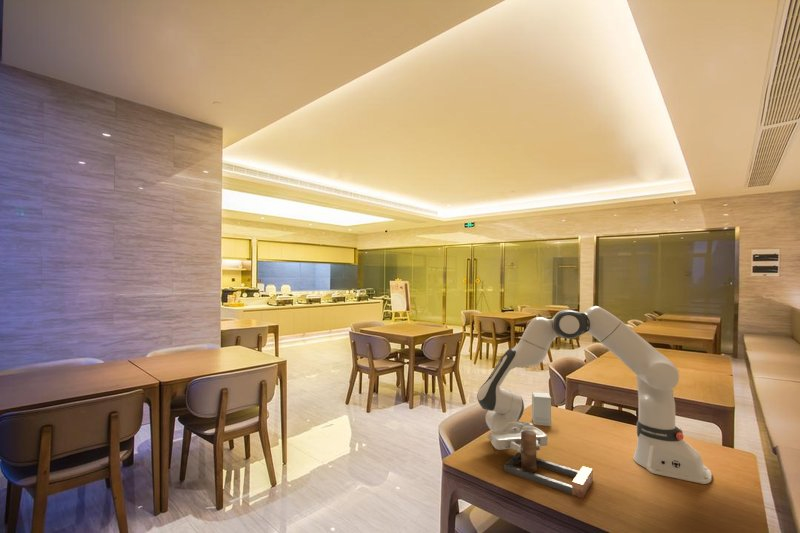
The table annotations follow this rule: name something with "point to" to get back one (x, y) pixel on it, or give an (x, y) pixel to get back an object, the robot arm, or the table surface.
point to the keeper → (528, 451)
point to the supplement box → (541, 409)
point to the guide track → (578, 484)
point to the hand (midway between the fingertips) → (530, 449)
